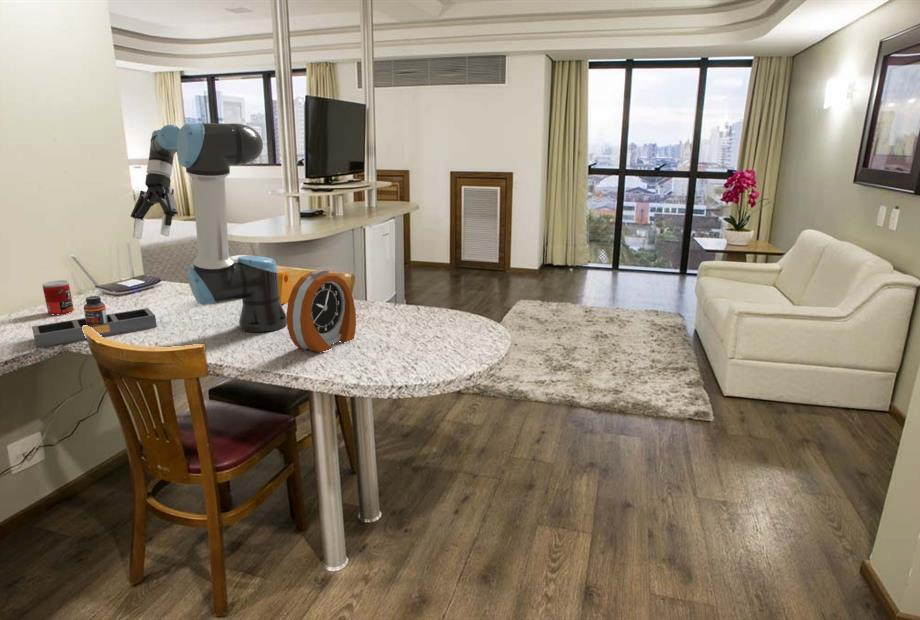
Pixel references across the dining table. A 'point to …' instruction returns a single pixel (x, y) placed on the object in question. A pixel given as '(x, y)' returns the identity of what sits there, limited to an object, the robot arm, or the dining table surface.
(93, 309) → the supplement bottle
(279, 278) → the yellow cheese block
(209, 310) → the dining table surface
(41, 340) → the compartment tray
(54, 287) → the canned food
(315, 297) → the alarm clock
